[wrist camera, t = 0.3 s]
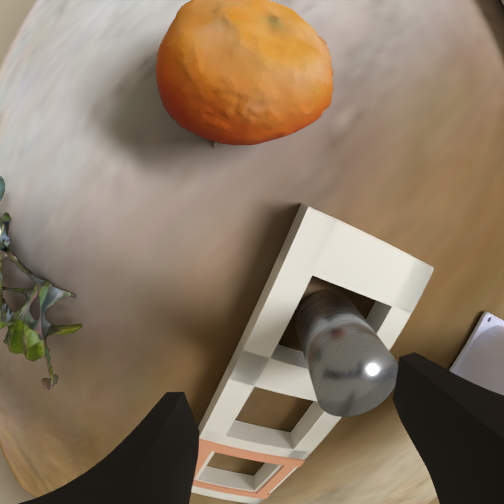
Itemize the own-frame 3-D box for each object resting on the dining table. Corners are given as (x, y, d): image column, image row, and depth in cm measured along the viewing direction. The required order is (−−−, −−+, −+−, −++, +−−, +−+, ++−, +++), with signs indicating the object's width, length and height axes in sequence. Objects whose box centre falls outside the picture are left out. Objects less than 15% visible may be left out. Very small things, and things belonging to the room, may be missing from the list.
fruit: (115, 99, 13) (131, -15, 6) (218, 51, 16) (274, -34, 9) (202, 207, 15) (280, 141, 8) (293, 137, 18) (383, 76, 11)
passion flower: (44, 228, 22) (-29, 148, 11) (132, 283, 21) (59, 202, 10) (-8, 331, 18) (-103, 296, 7) (72, 406, 17) (-36, 421, 6)
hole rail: (418, 259, 17) (436, 269, 15) (257, 490, 24) (257, 505, 22) (301, 203, 16) (309, 207, 14) (175, 472, 23) (172, 488, 21)
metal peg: (364, 300, 18) (414, 360, 11) (335, 350, 19) (368, 420, 12) (311, 280, 18) (346, 340, 11) (284, 334, 19) (300, 409, 12)
